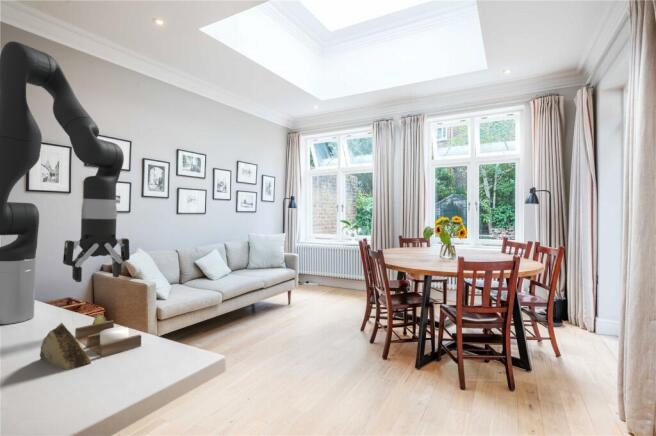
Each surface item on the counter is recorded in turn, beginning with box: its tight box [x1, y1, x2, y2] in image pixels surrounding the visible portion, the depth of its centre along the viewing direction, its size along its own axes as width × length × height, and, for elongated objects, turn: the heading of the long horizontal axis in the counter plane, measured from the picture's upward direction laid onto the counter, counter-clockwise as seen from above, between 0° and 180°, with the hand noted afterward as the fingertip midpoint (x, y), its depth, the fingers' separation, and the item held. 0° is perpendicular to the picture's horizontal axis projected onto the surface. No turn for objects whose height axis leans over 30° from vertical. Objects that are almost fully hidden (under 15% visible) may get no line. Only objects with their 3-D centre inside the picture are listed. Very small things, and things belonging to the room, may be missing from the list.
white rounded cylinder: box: [100, 326, 130, 347], centre depth 77 cm, size 6×6×4 cm
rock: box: [39, 322, 92, 370], centre depth 70 cm, size 11×9×10 cm
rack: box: [74, 320, 142, 358], centre depth 79 cm, size 16×8×4 cm, turn 54°
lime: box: [92, 313, 107, 324], centre depth 87 cm, size 4×5×5 cm
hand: (97, 279), depth 87 cm, fingers open, 8 cm apart
